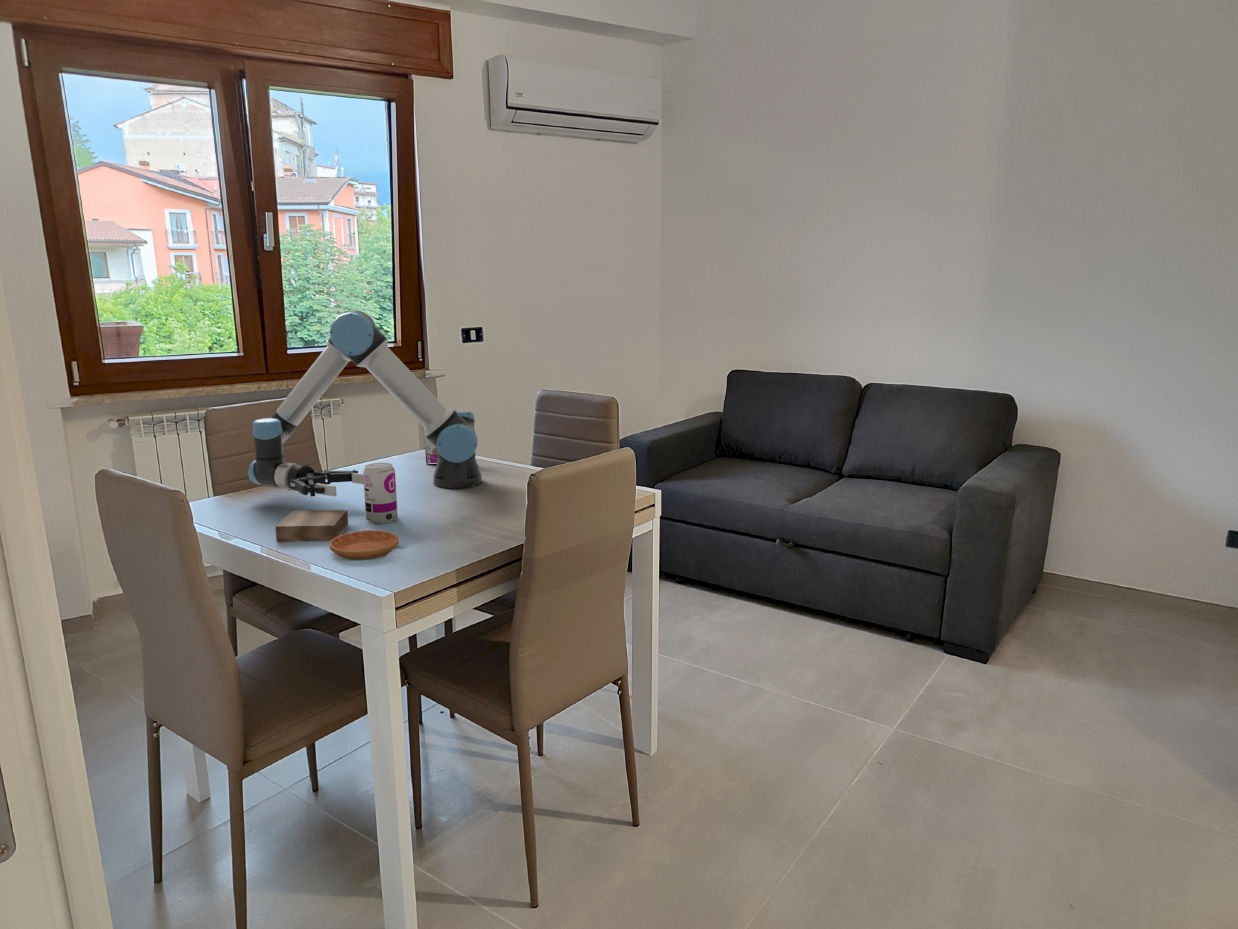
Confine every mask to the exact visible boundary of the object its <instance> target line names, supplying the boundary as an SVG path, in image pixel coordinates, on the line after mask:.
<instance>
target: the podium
mask: <svg viewBox="0 0 1238 929" xmlns="http://www.w3.org/2000/svg"><path fill="white" fill-rule="evenodd" d="M348 517H349V515H348V509H325V510H324V509H321V510H320V509H319V510H317V509H316V510H315V509H314V510H313V509H312V510H309V509H308V510H291V512H290V513H289V514H287V515H286V516H285V517H284V518H283V519H282V520H281V521H279V523H277V524H276V525H275V527H274V528H275V538H276V542H277V543H287V541H290V542H289V543H291V542H292V543H295V542H296V541H302V542H330V541H331V540H332V539H333V538H335V537H337V536H339V535H342V533H343V532H344V531H345V529H347V526H348V525H349V520H348V519H349V518H348ZM296 543H297V542H296Z"/></svg>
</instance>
